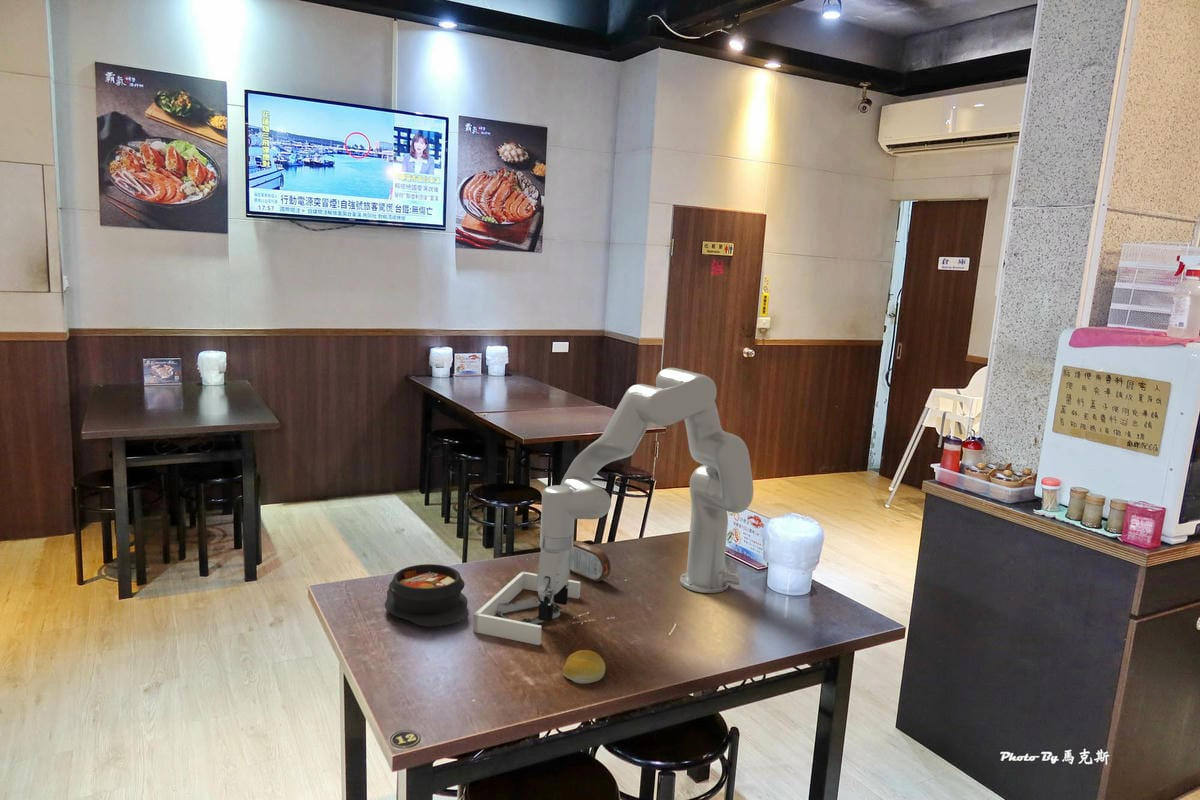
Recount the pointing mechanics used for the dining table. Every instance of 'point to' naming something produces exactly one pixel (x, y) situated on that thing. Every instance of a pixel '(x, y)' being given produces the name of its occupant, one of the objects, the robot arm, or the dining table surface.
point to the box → (511, 628)
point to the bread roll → (584, 667)
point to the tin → (589, 561)
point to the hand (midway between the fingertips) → (553, 611)
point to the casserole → (427, 595)
